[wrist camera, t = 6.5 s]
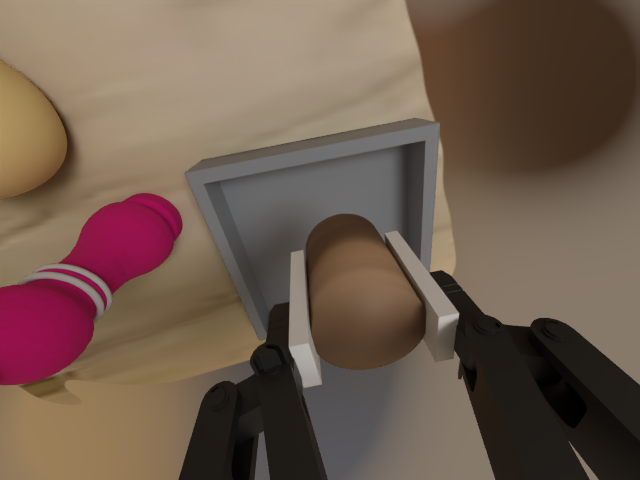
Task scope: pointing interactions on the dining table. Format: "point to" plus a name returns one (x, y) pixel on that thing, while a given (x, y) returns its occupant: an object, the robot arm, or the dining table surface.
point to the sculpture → (27, 135)
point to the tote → (314, 200)
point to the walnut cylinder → (359, 296)
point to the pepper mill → (81, 287)
